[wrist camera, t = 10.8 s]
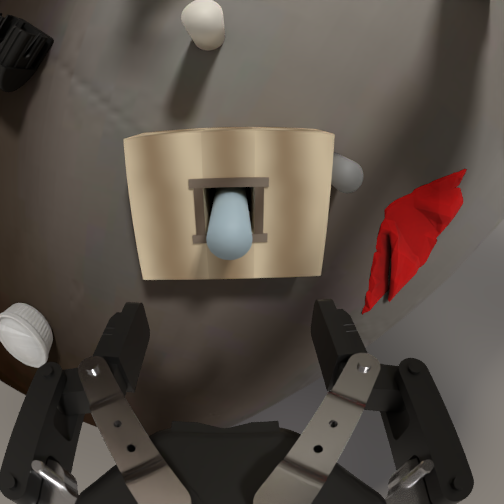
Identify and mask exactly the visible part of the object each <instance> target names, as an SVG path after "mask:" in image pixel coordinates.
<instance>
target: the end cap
mask: <svg viewBox="0 0 504 504" xmlns="http://www.w3.org/2000/svg"><path fill="white" fill-rule="evenodd" d="M53 41H54V40H53V38H51V37H50V36H48V35H47V34H45V33H44V32H42V31H40V30H39V29H37V28H36V27H34V26H33V25H31V24H30V23H28V22H26V21H25V20H23V19H21V18H17V17H15V16H12V15H7V16H6V17H5V18H4V17H2V13H0V89H2V90H3V91H5V92H12V91H14V90H16V89H18V88H20V87H21V86H22V85H24V84H25V83H26V82H27V81H28V80H29V79H30V77H31V76H32V75H33V73H34V72H35V70H36V69H37V68H38V66H39V65H40V63H41V61H42V60H43V58H44V57H45V55H46V53H47V52H48V50H49V49H50V47H51V46H52V44H53Z"/></svg>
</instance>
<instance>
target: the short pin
mask: <svg viewBox="0 0 504 504" xmlns="http://www.w3.org/2000/svg"><path fill="white" fill-rule="evenodd" d="M362 181H363V171H362V168H361V167H360V165H359V164H357V163H356V162H354V161H352V160H350V159H348V158H346V157H344V156H342V155H340V154H338V153H335V152H333V166H332V179H331V185H333V186H334V187H335V188H336V189H337V190H339V191H340V192H343V193H351V192H354V191H356V190H357V189H358V188H359V187H360V185H361V184H362Z"/></svg>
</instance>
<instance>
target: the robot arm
mask: <svg viewBox="0 0 504 504" xmlns="http://www.w3.org/2000/svg"><path fill="white" fill-rule="evenodd" d="M311 336H312V340H313V343H314V347H315V350H316V353H317V357H318V360H319V364H320V367H321V371H322V374H323V378H324V381H325V385H326V389H327V391H329V392H328V394H327V395H326V397H325V398H324V400H323V402H322V403H321V405H320V407H319V408H318V410H317V411H316V413H315V415H314V416H313V418H312V419H311V421H310V422H309V424H308V425H307V427H306V428H305V430H304V431H303V433H302V434H299V433H297V432H294V431H291V430H288V429H284V428H279V423H278V421H269V422H251V423H248V424H243V425H239V426H235V427H231V428H226V429H224V428H218V427H214V426H210V425H206V424H202V423H198V422H178V421H172V427H171V428H169V429H165V430H161V431H159V432H156V433H154V434H152V435H151V436H149V437H148V435H147V434H146V432H145V430H144V429H143V427H142V426H141V424H140V422H139V421H138V419H137V417H136V416H135V414H134V412H133V411H132V409H131V407H130V405H129V404H128V402H127V400H126V398H125V394H126V392H135V388H136V384H137V381H138V377H139V373H140V370H141V366H142V363H143V359H144V356H145V352H146V349H147V345H148V342H149V338H150V329H149V325H148V321H147V317H146V313H145V310H144V306H143V304H142V303H137V302H127V303H126V304H125V306H124V308H123V310H122V312H121V313H119V312H117V313H116V314H115V315H114V316H112V317H111V318H110V320H109V322H108V324H107V326H106V328H105V330H104V332H103V335H102V337H101V339H100V341H99V343H98V345H97V348H96V350H95V352H94V354H93V356H91V357H88V358H86V359H84V360H83V361H82V362H81V363H80V365H79V367H78V368H73V369H66V370H62V368H61V367H60V365H59V364H57V363H55V362H48V363H45V364H43V365H42V366H40V367H39V369H38V370H37V372H36V374H35V376H34V378H33V381H32V383H31V385H30V388H29V390H28V392H27V395H26V397H25V400H24V402H23V404H22V407H21V410H20V412H19V415H18V418H17V420H16V423H15V426H14V428H13V431H12V434H11V437H10V440H9V443H8V446H7V450H6V453H5V456H4V460H3V463H2V467H1V470H0V490H1V492H2V493H3V495H4V496H5V497H7V498H8V499H10V500H12V501H13V502H15V503H17V504H456V503H458V502H460V501H462V500H463V499H465V498H466V497H467V496H468V495H469V494H470V493H471V491H472V489H473V485H474V480H473V476H472V473H471V470H470V467H469V464H468V461H467V459H466V456H465V453H464V451H463V448H462V445H461V443H460V440H459V437H458V435H457V432H456V430H455V428H454V425H453V423H452V420H451V418H450V416H449V414H448V411H447V409H446V407H445V404H444V402H443V400H442V398H441V396H440V393H439V391H438V389H437V387H436V385H435V383H434V381H433V378H432V376H431V375H430V372H429V370H428V368H427V366H426V365H425V364H424V363H423V362H422V361H420V360H418V359H414V358H407V359H404V360H403V361H402V362H401V363H400V364H399V366H392V365H384V364H380V363H379V361H378V359H376V357H374V356H372V355H370V354H368V353H367V351H366V349H365V347H364V344H363V342H362V340H361V338H360V336H359V333H358V331H357V329H356V327H355V325H354V323H353V321H352V319H351V317H350V315H349V314H348V313H347V312H345V311H344V310H343V309H336V307H335V305H334V302H333V300H332V299H324V300H316V301H315V304H314V310H313V317H312V323H311ZM330 390H331V391H330ZM363 410H373V411H380V413H381V416H382V419H383V422H384V426H385V430H386V433H387V437H388V440H389V444H390V448H391V451H392V455H393V459H394V463H395V466H396V470H397V471H396V472H395V473H394V474H393V475H392V476H391V478H390V479H389V483H388V494H387V497H386V498H385V499H384V498H383V497H382V496H381V495H380V494H379V493H378V492H376V491H375V490H374V489H372V488H371V487H369V486H368V485H366V484H365V483H364V482H362V481H361V480H360V479H358V478H357V477H355V476H354V475H353V474H351V473H350V472H349V471H347V470H346V469H345V468H343V467H342V466H341V465H339V464H338V463H337V460H338V459H339V457H340V455H341V453H342V451H343V450H344V448H345V446H346V444H347V442H348V440H349V438H350V436H351V434H352V433H353V430H354V428H355V427H356V425H357V422H358V420H359V418H360V416H361V414H362V412H363ZM85 413H92V416H93V418H94V420H95V422H96V425H97V427H98V429H99V431H100V433H101V435H102V437H103V439H104V442H105V444H106V446H107V448H108V449H109V451H110V453H111V455H112V457H113V459H114V461H115V463H116V465H115V466H114V467H112V468H111V469H110V470H109V471H107V472H106V473H105V474H104V475H102V476H101V477H100V478H99V479H98V480H96V481H95V482H94V483H93V484H91V485H90V486H89V487H88V488H86V489H85V490H84V491H83V492H81V493H80V495H78V490H77V482H76V480H75V478H74V476H73V475H72V474H71V471H72V466H73V461H74V456H75V452H76V447H77V443H78V438H79V434H80V430H81V426H82V422H83V418H84V415H85Z"/></svg>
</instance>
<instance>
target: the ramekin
mask: <svg viewBox="0 0 504 504" xmlns="http://www.w3.org/2000/svg"><path fill="white" fill-rule="evenodd" d="M0 341H1V342H2V344H3V345H4V347H5V348H6V349H7V350H8V351H9V352H10V353H11V354H12V355H13V356H14V357H15V358H16V359H18V360H19V361H21V362H22V363H24V364H26V365H29V366H32V367H40V366H42V365H43V364H45V363H46V362H47V359H48V353H49V351H50V348H51V345H52V342H53V334H52V330H51V327H50V325H49V323H48V321H47V320H46V319H45V317H44V316H43V315H42V314H41V313H40V312H39V311H38V310H37V309H35V308H34V307H32V306H30V305H28V304H25V303H16V304H14V305H12V306H11V307H10V308H8V309H7V310H6V311H5V312H3V313H1V314H0Z"/></svg>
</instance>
